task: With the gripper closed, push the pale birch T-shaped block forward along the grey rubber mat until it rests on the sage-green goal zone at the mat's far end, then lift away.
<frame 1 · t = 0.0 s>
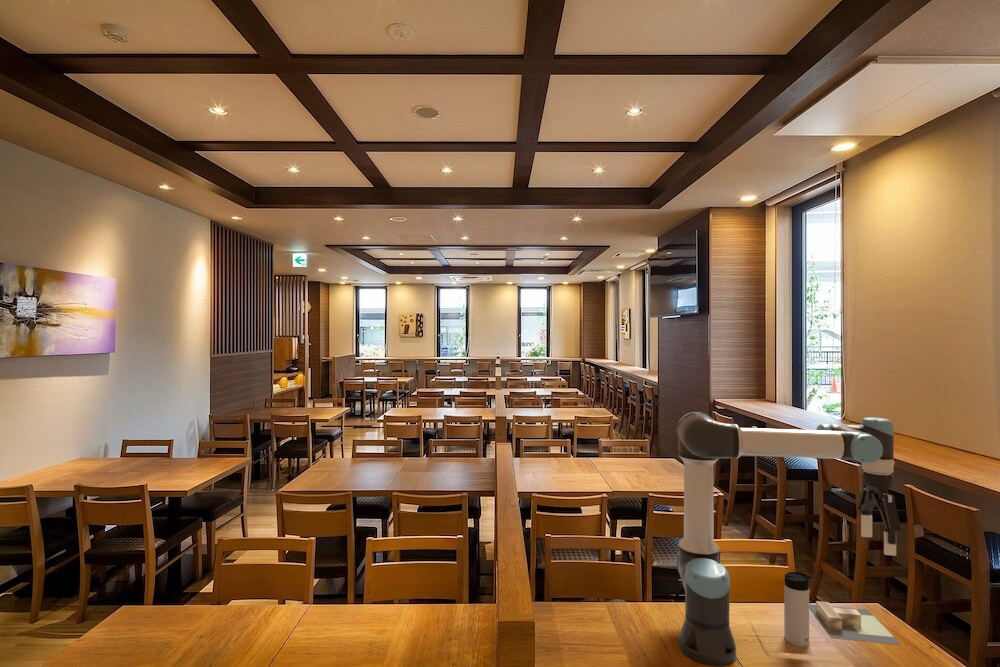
hand: (877, 545, 155), 28 cm above the table, fingers open, 13 cm apart
T block: (828, 620, 165), point 1 cm above the table, touching mat
mat: (850, 626, 164), on the table
travel mug: (797, 644, 155), on the table
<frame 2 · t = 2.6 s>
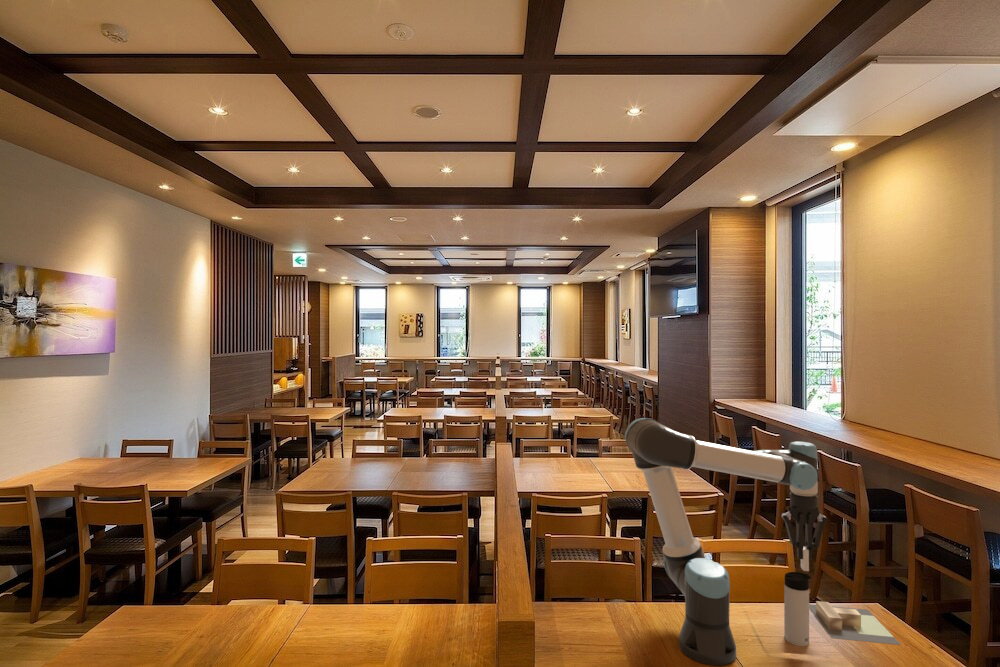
hand: (804, 569, 166), 16 cm above the table, fingers closed
nothing on the table moved.
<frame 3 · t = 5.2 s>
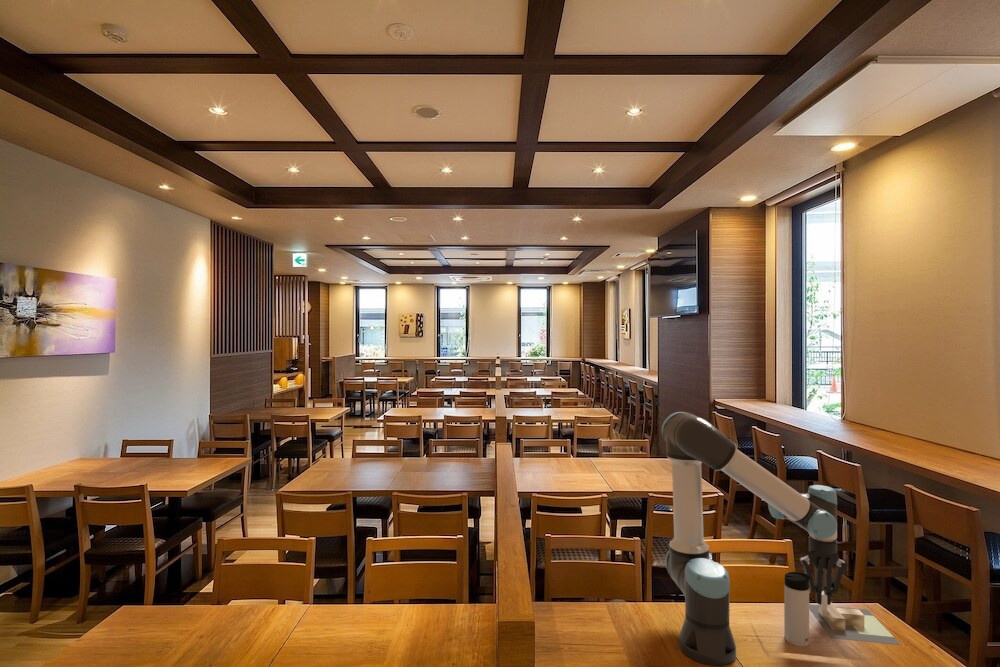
hand: (823, 614, 165), 3 cm above the table, fingers closed
T block: (831, 621, 165), point 1 cm above the table, touching gripper
everything else where it was.
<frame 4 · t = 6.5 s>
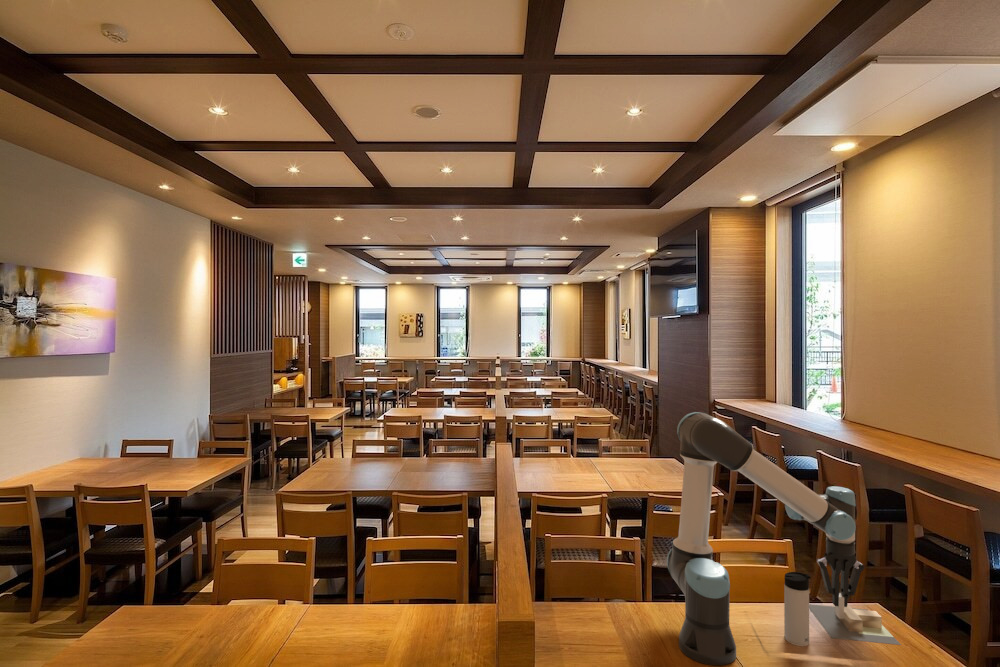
hand: (839, 616, 164), 3 cm above the table, fingers closed
T block: (848, 622, 164), point 1 cm above the table, touching gripper, mat
everything else where it was.
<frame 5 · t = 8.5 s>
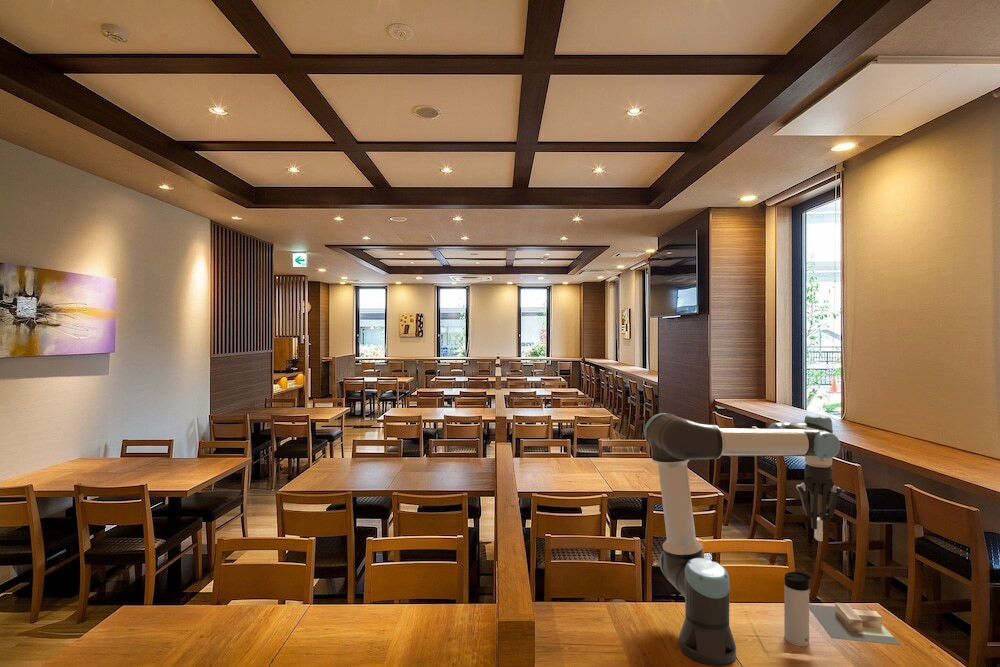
hand: (818, 539, 170), 24 cm above the table, fingers closed
T block: (848, 622, 164), point 1 cm above the table, touching mat
everything else where it was.
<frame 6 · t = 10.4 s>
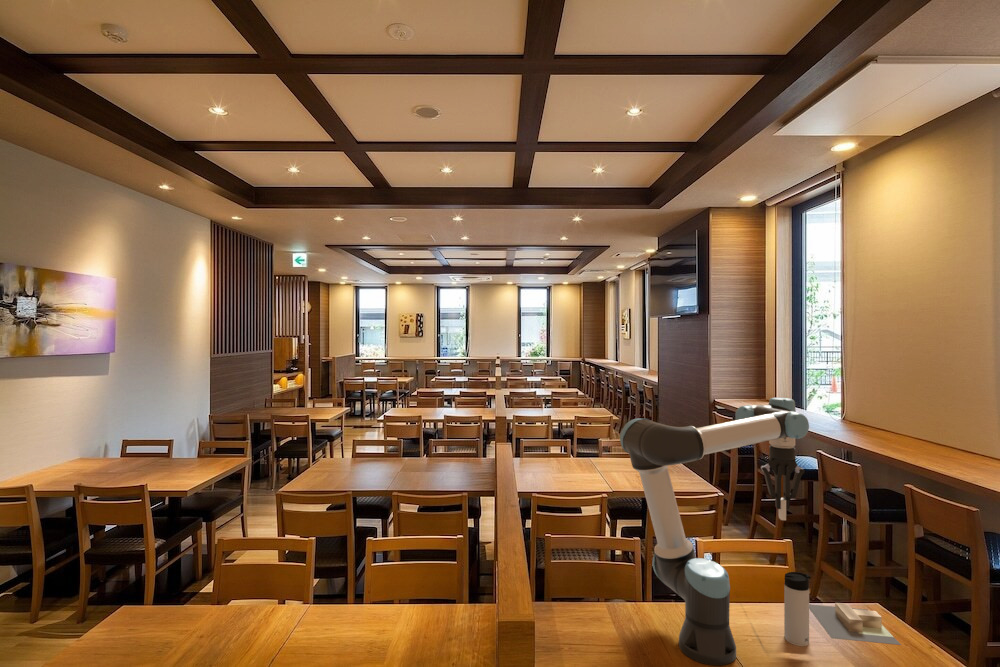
hand: (782, 518, 174), 29 cm above the table, fingers closed
nothing on the table moved.
at the end: T block inside the target area on the mat (2.2 cm from its centre), point 1.2 cm above the mat's base; T block moved 5.5 cm from its start; T block touching mat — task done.
